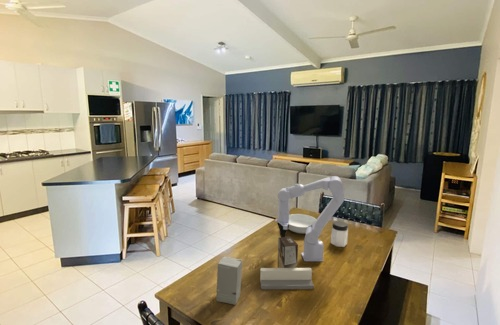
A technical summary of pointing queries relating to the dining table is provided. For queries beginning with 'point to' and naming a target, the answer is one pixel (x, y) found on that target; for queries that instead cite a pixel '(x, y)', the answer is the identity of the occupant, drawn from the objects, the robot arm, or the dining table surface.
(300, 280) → the board
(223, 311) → the dining table surface
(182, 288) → the dining table surface
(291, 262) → the coffee box
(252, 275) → the dining table surface
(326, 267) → the dining table surface
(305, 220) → the serving bowl
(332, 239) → the jar
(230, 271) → the skincare box
